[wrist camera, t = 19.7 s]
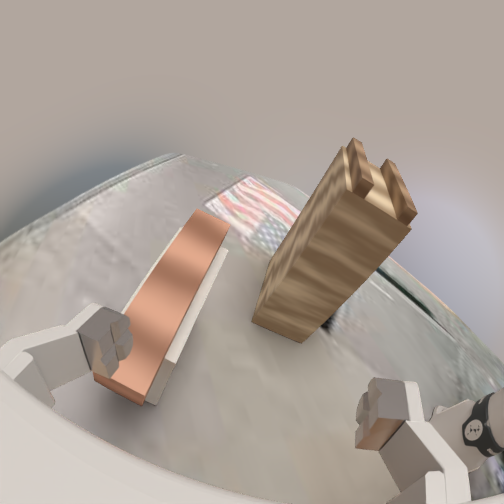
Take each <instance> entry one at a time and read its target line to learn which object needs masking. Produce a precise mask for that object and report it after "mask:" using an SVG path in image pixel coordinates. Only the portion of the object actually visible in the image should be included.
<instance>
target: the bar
mask: <svg viewBox="0 0 504 504" xmlns="http://www.w3.org/2000/svg"><path fill="white" fill-rule="evenodd" d="M229 227H230V224H228V223H226V222H224V221H222V220H220V219H218V218H215V217H213V216H211V215H209V214H207V213H205V212H203V211H201V210H199V209H196V211H195V212H194V213H193V215H192V216H191V217H190V219H189V220H188V221H187V223H186V224H185V225H184V227H183V228H182V230H181V231H180V232H179V234H178V235H177V237H176V238H175V239H174V241H173V242H172V244H171V245H170V246H169V248H168V249H167V251H166V252H165V253H164V255H163V256H162V258H161V259H160V261H159V262H158V263H157V265H156V266H155V268H154V269H153V271H152V272H151V274H150V275H149V277H148V278H147V280H146V281H145V283H144V284H143V286H142V287H141V289H140V290H139V292H138V293H137V295H136V296H135V298H134V299H133V301H132V302H131V304H130V305H129V307H128V308H127V310H126V312H125V313H124V315H126V316H128V317H129V318H130V323H131V325H130V327H129V328H128V329H129V330H130V332H131V333H132V335H133V347H132V350H131V352H130V354H129V355H128V357H127V358H126V359H124V360H121V361H119V368H118V369H117V370H116V372H115V373H114V374H113V375H112V377H111V378H110V379H108V378H106V377H104V376H101V375H99V374H97V373H95V372H93V375H94V380H95V381H96V382H98V383H100V384H101V385H103V386H105V387H107V388H108V389H110V390H112V391H114V392H116V393H117V394H119V395H121V396H123V397H125V398H127V399H129V400H131V401H133V402H135V403H137V404H139V405H141V406H142V405H143V403H144V401H145V399H146V396H147V394H148V392H149V390H150V388H151V386H152V384H153V381H154V379H155V377H156V375H157V373H158V371H159V369H160V367H161V365H162V362H163V360H164V358H165V356H166V354H167V352H168V350H169V348H170V346H171V344H172V342H173V340H174V338H175V336H176V334H177V331H178V329H179V327H180V325H181V323H182V321H183V319H184V317H185V315H186V313H187V311H188V309H189V307H190V305H191V303H192V301H193V299H194V297H195V295H196V293H197V291H198V289H199V287H200V285H201V283H202V281H203V279H204V277H205V275H206V273H207V272H208V270H209V268H210V266H211V264H212V262H213V260H214V258H215V256H216V254H217V252H218V250H219V248H220V246H221V244H222V242H223V240H224V238H225V236H226V234H227V231H228V229H229Z"/></svg>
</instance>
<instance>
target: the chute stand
mask: <svg viewBox="0 0 504 504" xmlns="http://www.w3.org/2000/svg"><path fill="white" fill-rule="evenodd" d="M416 215H417V211H416V208H415V206H414V203H413V201H412V199H411V197H410V194H409V193H408V190H407V188H406V186H405V184H404V182H403V179H402V177H401V175H400V173H399V171H398V169H397V167H396V165H395V164H394V163H393V162H392V161H390V160H389V159H386V160H385V162H384V163H383V165H382V166H381V168H378V167H376V166H375V165H373V164H372V163H370V162H368V161H367V158H366V155H365V152H364V148H363V146H362V143H361V142H360V141H358V140H357V139H355V138H352V140H351V141H350V143H349V145H348V146H347V148H345V147H343V146H342V147H341V149H340V150H339V152H338V154H337V155H336V157H335V158H334V160H333V162H332V163H331V165H330V166H329V168H328V170H327V171H326V173H325V175H324V176H323V178H322V179H321V181H320V183H319V184H318V186H317V188H316V189H315V191H314V193H313V194H312V196H311V197H310V199H309V200H308V202H307V203H306V205H305V207H304V208H303V210H302V211H301V213H300V215H299V216H298V218H297V219H296V221H295V222H294V224H293V226H292V227H291V229H290V230H289V232H288V234H287V235H286V237H285V238H284V240H283V241H282V243H281V245H280V246H279V248H278V249H277V251H276V252H275V254H274V255H273V257H272V259H271V260H270V262H269V266H268V269H267V272H266V276H265V279H264V282H263V286H262V289H261V292H260V295H259V299H258V302H257V305H256V309H255V312H254V315H253V318H252V322H253V323H255V324H257V325H260V326H262V327H264V328H266V329H269V330H271V331H273V332H275V333H278V334H280V335H282V336H285V337H287V338H289V339H292V340H294V341H297V342H299V343H303V342H304V341H305V340H306V339H307V338H308V337H309V336H310V335H311V334H312V333H313V332H314V331H316V330H317V329H318V328H319V327H320V326H321V325H322V324H323V323H324V322H325V321H326V320H327V319H328V318H329V317H330V316H331V315H332V314H333V313H334V312H335V311H336V310H337V309H338V308H339V307H340V306H341V305H342V304H343V303H344V302H345V301H346V300H347V299H348V298H349V297H350V296H351V295H352V294H353V293H354V292H355V291H356V290H357V289H358V288H359V287H360V286H361V285H362V284H363V283H364V282H365V281H366V280H367V279H368V278H369V276H370V275H371V274H372V273H373V272H374V271H375V270H376V269H377V268H378V267H379V266H380V265H381V264H382V262H383V261H384V260H385V259H386V258H387V257H388V256H389V255H390V253H391V252H392V251H393V250H394V249H395V248H396V247H397V246H398V244H399V243H400V242H401V241H402V240H403V239H404V238H405V236H406V235H407V234H408V233H409V232H410V230H411V226H410V222H411V221H412V220H413V219H414V217H415V216H416Z"/></svg>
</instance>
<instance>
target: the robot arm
mask: <svg viewBox="0 0 504 504" xmlns="http://www.w3.org/2000/svg"><path fill="white" fill-rule="evenodd" d="M130 325H131V323H130V318H129V317H128V316H126V315H124V314H122V313H119V312H117V311H114V310H112V309H109V308H107V307H104V306H101V305H99V304H97V303H91V304H89V305H88V306H87V307H86V308H85V309H84V310H82V311H81V312H80V313H79V314H78V315H77V316H76V317H74V318H73V319H72V320H71V321H70V322H69V323H68V324H67V325H65V326H64V325H59V326H56V327H52V328H49V329H45V330H42V331H38V332H34V333H31V334H27V335H24V336H20V337H16V338H13V339H10V340H9V341H8V342H7V343H5V344H4V345H3V346H2V347H1V348H0V504H290V503H284V502H278V501H273V500H268V499H263V498H258V497H254V496H250V495H245V494H241V493H237V492H233V491H230V490H226V489H223V488H219V487H216V486H212V485H209V484H206V483H203V482H200V481H197V480H194V479H191V478H188V477H185V476H182V475H180V474H177V473H174V472H172V471H169V470H167V469H164V468H162V467H159V466H157V465H155V464H152V463H150V462H148V461H145V460H143V459H141V458H139V457H136V456H134V455H132V454H130V453H128V452H126V451H124V450H122V449H120V448H118V447H116V446H114V445H112V444H110V443H108V442H106V441H104V440H103V439H101V438H99V437H97V436H95V435H94V434H92V433H90V432H88V431H87V430H85V429H83V428H82V427H80V426H78V425H77V424H75V423H73V422H72V421H70V420H69V419H67V418H65V417H64V416H62V415H61V414H59V413H58V412H56V411H55V410H53V409H52V407H53V406H54V405H55V399H54V398H53V396H52V394H51V392H50V391H51V390H53V389H55V388H57V387H59V386H62V385H64V384H66V383H68V382H70V381H72V380H74V379H77V378H79V377H81V376H83V375H85V374H87V373H89V372H91V371H93V372H95V373H97V374H99V375H101V376H104V377H106V378H108V379H110V378H111V377H112V375H113V374H114V373H115V372H116V370H117V369H118V368H119V361H121V360H124V359H126V358H127V357H128V355H129V354H130V352H131V350H132V347H133V335H132V333H131V332H130V330H129V329H128V328H129V327H130ZM90 370H91V371H90ZM356 421H357V423H358V424H359V425H360V426H359V427H358V429H357V430H356V434H355V448H357V449H365V450H375V451H379V454H380V455H381V457H382V459H383V461H384V463H385V464H386V466H387V468H388V470H389V472H390V474H391V475H392V477H393V479H394V481H395V483H396V485H397V486H398V488H399V490H400V492H401V493H400V494H398V495H397V496H396V497H394V498H393V499H391V500H390V501H389V502H387V503H386V504H504V493H503V494H499V495H495V496H492V497H487V498H483V499H479V500H474V501H471V493H470V485H469V477H468V474H469V473H470V472H472V471H474V470H477V469H479V468H480V466H481V465H482V464H483V463H484V462H485V461H486V460H487V459H488V458H489V457H491V456H494V455H497V454H499V453H501V452H502V451H504V388H502V389H501V390H499V391H498V392H496V393H491V394H489V395H486V396H484V397H483V398H482V399H480V400H478V401H477V402H474V401H471V400H465V401H463V402H461V403H458V404H456V405H454V406H452V407H450V408H447V407H443V406H437V407H435V409H434V411H433V416H432V418H431V420H430V421H429V422H425V420H424V414H423V409H422V403H421V398H420V393H419V388H418V384H417V383H416V382H409V381H399V380H390V379H382V378H375V377H374V378H373V379H371V381H370V383H369V384H368V392H366V393H364V394H363V395H362V397H361V399H360V400H359V404H358V407H357V412H356Z"/></svg>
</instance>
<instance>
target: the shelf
mask: <svg viewBox="0 0 504 504" xmlns="http://www.w3.org/2000/svg"><path fill="white" fill-rule="evenodd" d="M181 230H182V227H180V229H179V230H178V231H177V233H176V234H175V236H174V237H173V238H172V240H171V241H170V242H169V244H168V245H167V247H166V248H165V249H164V251H163V252H162V254H161V255H160V256H159V258H158V259H157V261H156V262H155V263H154V265H153V266H152V268H151V269H150V271H149V272H148V274H147V275H146V276H145V278H144V279H143V281H142V282H141V284H140V285H139V287H138V288H137V290H136V291H135V293H134V294H133V296H132V297H131V299H130V300H129V302H128V303H127V305H126V306H125V308H124V309H123V311H122V312H121V313H122V314H124V313H125V312H126V310H127V308H128V307H129V305H130V304H131V302H132V301H133V299H134V298H135V296H136V295H137V293H138V292H139V290H140V289H141V287H142V286H143V284H144V283H145V281H146V280H147V278H148V277H149V275H150V274H151V272H152V271H153V269H154V268H155V266H156V265H157V263H158V262H159V261H160V259H161V258H162V256H163V255H164V253H165V252H166V251H167V249H168V248H169V246H170V245H171V244H172V242H173V241H174V239H175V238H176V237H177V235H178V234H179V232H180V231H181ZM228 251H229V250H227V249H225V248H223V247H221V246H220V248H219V250H218V252H217V254H216V256H215V258H214V260H213V262H212V264H211V266H210V268H209V270H208V272H207V273H206V275H205V277H204V279H203V281H202V283H201V285H200V287H199V289H198V291H197V293H196V295H195V297H194V299H193V301H192V303H191V305H190V307H189V309H188V311H187V313H186V315H185V317H184V319H183V321H182V323H181V325H180V327H179V329H178V331H177V334H176V336H175V338H174V340H173V342H172V344H171V346H170V348H169V350H168V352H167V354H166V356H165V358H164V360H163V362H162V365H161V367H160V369H159V371H158V373H157V375H156V377H155V379H154V381H153V384H152V386H151V388H150V390H149V392H148V394H147V396H146V399H145V401H147V402H149V403H151V404H153V405H155V406H156V405H157V403H158V401H159V399H160V397H161V395H162V392H163V390H164V388H165V386H166V384H167V382H168V379H169V377H170V375H171V373H172V371H173V369H174V367H175V365H176V362H177V360H178V358H179V356H180V354H181V351H182V349H183V347H184V345H185V343H186V340H187V338H188V336H189V334H190V332H191V329H192V327H193V325H194V323H195V321H196V319H197V316H198V314H199V312H200V310H201V308H202V306H203V304H204V301H205V299H206V297H207V295H208V293H209V291H210V289H211V286H212V284H213V282H214V280H215V278H216V276H217V274H218V272H219V270H220V267H221V265H222V263H223V261H224V259H225V257H226V255H227V253H228Z"/></svg>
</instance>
